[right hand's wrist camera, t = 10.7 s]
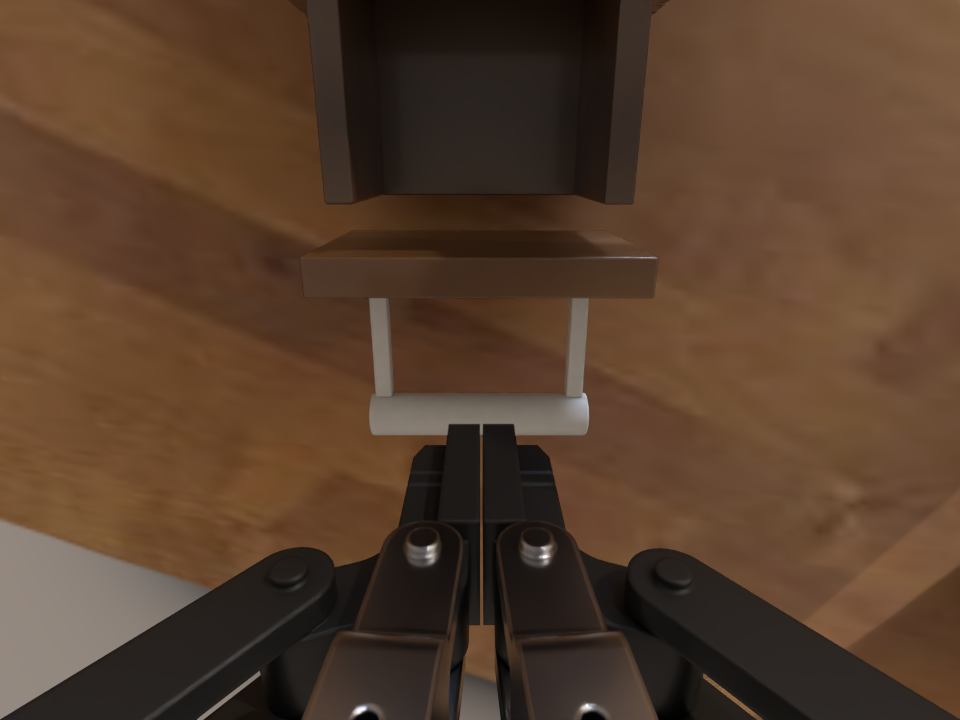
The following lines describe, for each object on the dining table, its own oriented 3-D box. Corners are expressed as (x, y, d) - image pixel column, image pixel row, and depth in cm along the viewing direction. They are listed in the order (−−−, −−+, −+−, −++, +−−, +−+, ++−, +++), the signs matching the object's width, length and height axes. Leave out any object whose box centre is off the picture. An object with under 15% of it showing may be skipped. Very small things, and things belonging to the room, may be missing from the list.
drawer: (594, 396, 24) (635, 477, 18) (364, 396, 24) (322, 477, 17) (657, -408, 15) (777, -797, 9) (301, -409, 15) (180, -799, 9)
